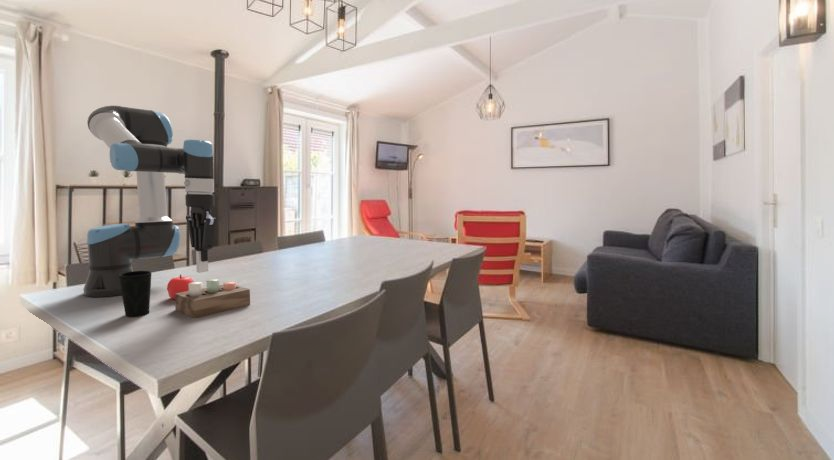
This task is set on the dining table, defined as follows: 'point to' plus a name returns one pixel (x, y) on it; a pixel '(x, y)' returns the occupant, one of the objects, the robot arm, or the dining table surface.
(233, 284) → the coral button
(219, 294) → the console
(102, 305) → the dining table surface
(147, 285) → the cup
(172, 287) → the apple
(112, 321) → the dining table surface
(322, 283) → the dining table surface
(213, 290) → the pale green rounded piece
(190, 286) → the white egg
